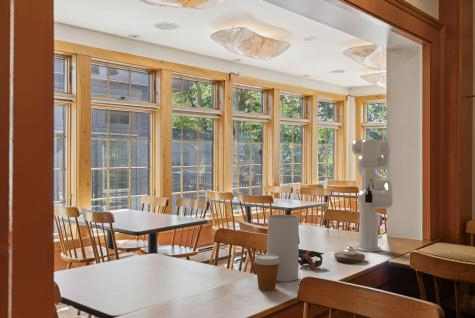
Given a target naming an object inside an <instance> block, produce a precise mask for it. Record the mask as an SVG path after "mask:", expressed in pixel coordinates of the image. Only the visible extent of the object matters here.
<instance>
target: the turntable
mask: <svg viewBox="0 0 475 318" xmlns="http://www.w3.org/2000/svg"><path fill="white" fill-rule="evenodd" d="M334 258H335V259H336V260H337V261H338V262H341V263H346V264H358V263H361V262H362V261H365V259H366V254H364V253H360V252H357V256H355V257H349V256H344V251H339V252H338V251H337V252H335V253H334Z"/></svg>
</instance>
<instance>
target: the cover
mask: <svg viewBox="0 0 475 318" xmlns="http://www.w3.org/2000/svg"><path fill="white" fill-rule="evenodd" d="M343 252H344V256H349V257H355V256H357V253H358V249H355V247H354V246H346V248H345V249H343Z"/></svg>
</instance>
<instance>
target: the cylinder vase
mask: <svg viewBox="0 0 475 318" xmlns="http://www.w3.org/2000/svg"><path fill="white" fill-rule="evenodd" d="M299 220H300V218H299V216H298V215H292V214H271V215H268V216H267V241H266V242H267V247H266V248H267V253H266V254H272V255H277V256H278V257H279V260H280V262H279V264H278V272H277V279H276V283H277V282H278V283H290V281H291V282H294V280H295V281H296V280H298V279H299V263H298V259H299V258H298V254H299V241H300V240H299V239H300V236H299V234H300V233H299V232H300V231H299V229H300V227H299V224H300V223H299Z"/></svg>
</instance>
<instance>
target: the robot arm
mask: <svg viewBox="0 0 475 318" xmlns="http://www.w3.org/2000/svg"><path fill="white" fill-rule="evenodd" d="M390 149H391V148H390V143H389V142H388V141H387V140H384V139H382V140H378V139H354V140H353V142H352V143H351V151H352V153H353V155H359V156H358V158H357V163H356V164H357V170H358V173H359V175H360V178H361V184H360V185H361V190H360V191H359V193H358V194H357V195H358V196H357V200H358V201H357V202H358V207H359V227H358V228H359V229H358V231H359V232H358V233H359V234H358V235H359V236H358V237H359V241H358V242H359V245H356V246H355V248H356V249H355V250H357V251H362V252H375V253H376V252H381V251H382V248H381V247H380V246H379V216H378V213H377V212H376V211H375V210H374V209H390V208H392V206H393V202H394V199H393V198H394V197H393V185H392V182H391V180H390V179H388V178H378V175H377V173H376V170H387V169H388V168H389V167H390V156H391V155H390V151H391V150H390Z"/></svg>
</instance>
